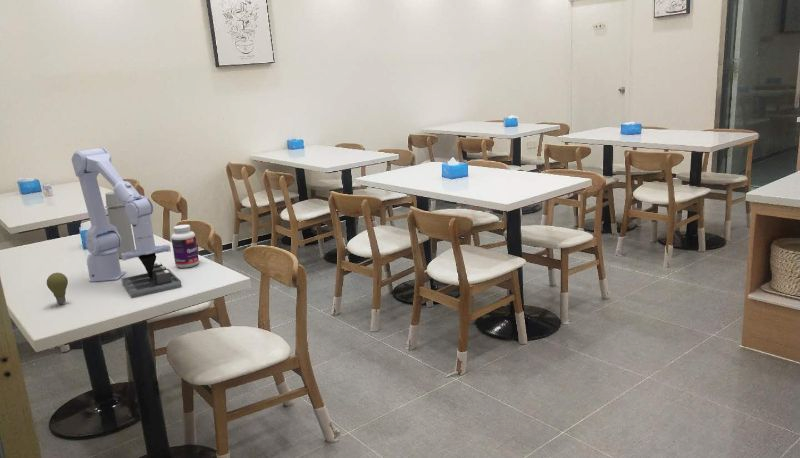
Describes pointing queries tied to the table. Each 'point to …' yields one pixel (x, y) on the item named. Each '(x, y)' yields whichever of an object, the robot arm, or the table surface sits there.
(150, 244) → the robot arm
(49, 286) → the light bulb
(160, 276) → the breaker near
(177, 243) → the pill bottle
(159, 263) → the breaker far
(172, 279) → the panel
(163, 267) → the block
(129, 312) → the table surface
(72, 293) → the table surface
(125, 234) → the water bottle
